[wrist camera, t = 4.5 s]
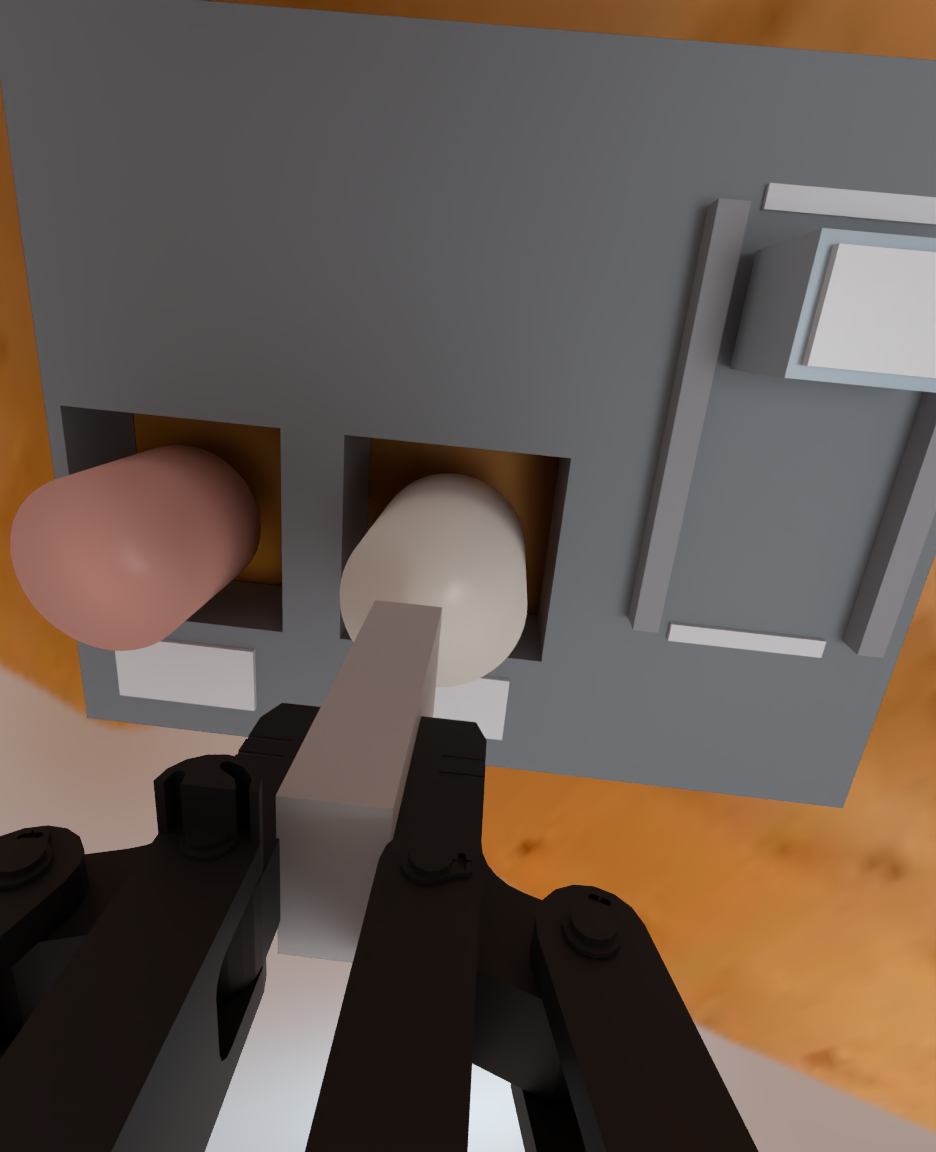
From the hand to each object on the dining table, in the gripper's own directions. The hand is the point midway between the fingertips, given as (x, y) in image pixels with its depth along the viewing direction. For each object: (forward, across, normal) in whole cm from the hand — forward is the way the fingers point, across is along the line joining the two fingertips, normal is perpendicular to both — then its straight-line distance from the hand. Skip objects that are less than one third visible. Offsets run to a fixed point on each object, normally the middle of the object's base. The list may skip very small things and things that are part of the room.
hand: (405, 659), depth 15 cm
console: (+11, +1, +3) cm, 11 cm away
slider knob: (+7, +10, +8) cm, 15 cm away
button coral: (+8, -9, 0) cm, 12 cm away
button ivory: (+8, 0, 0) cm, 8 cm away
